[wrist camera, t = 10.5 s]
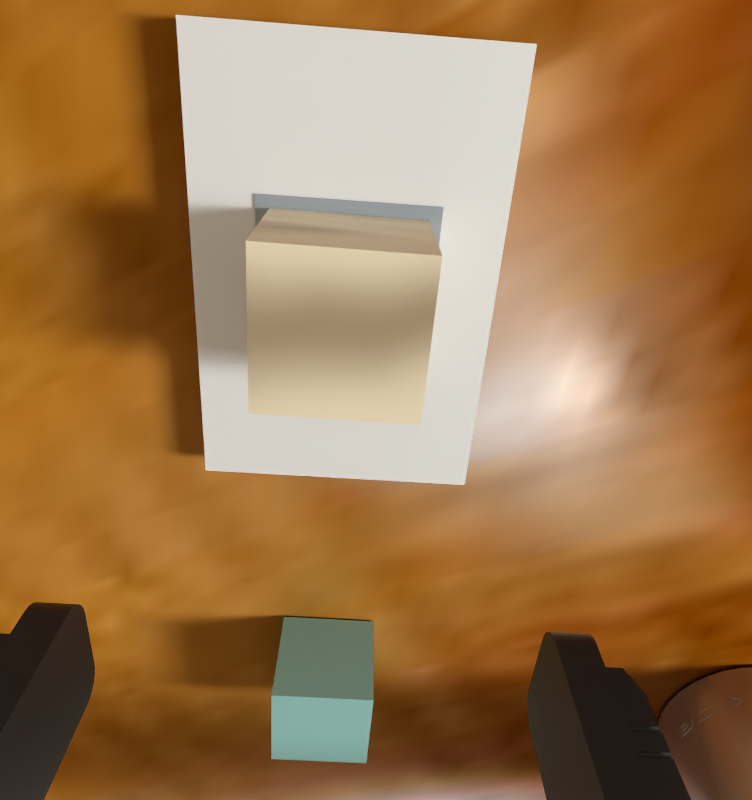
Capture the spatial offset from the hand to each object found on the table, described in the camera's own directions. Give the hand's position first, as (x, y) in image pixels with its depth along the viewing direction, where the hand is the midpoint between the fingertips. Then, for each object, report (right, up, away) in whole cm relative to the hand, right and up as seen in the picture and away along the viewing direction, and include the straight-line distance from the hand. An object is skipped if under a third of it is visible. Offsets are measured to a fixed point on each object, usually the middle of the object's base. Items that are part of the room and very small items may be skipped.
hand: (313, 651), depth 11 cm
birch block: (0, +9, +14) cm, 16 cm away
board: (0, +9, +15) cm, 18 cm away
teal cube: (-2, -10, +26) cm, 27 cm away
